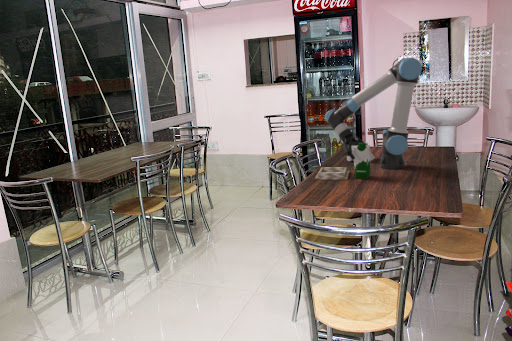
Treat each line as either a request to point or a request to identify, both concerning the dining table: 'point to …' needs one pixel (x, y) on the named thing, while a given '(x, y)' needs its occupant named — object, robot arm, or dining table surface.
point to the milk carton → (362, 161)
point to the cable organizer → (353, 152)
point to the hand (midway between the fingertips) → (365, 161)
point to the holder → (332, 173)
